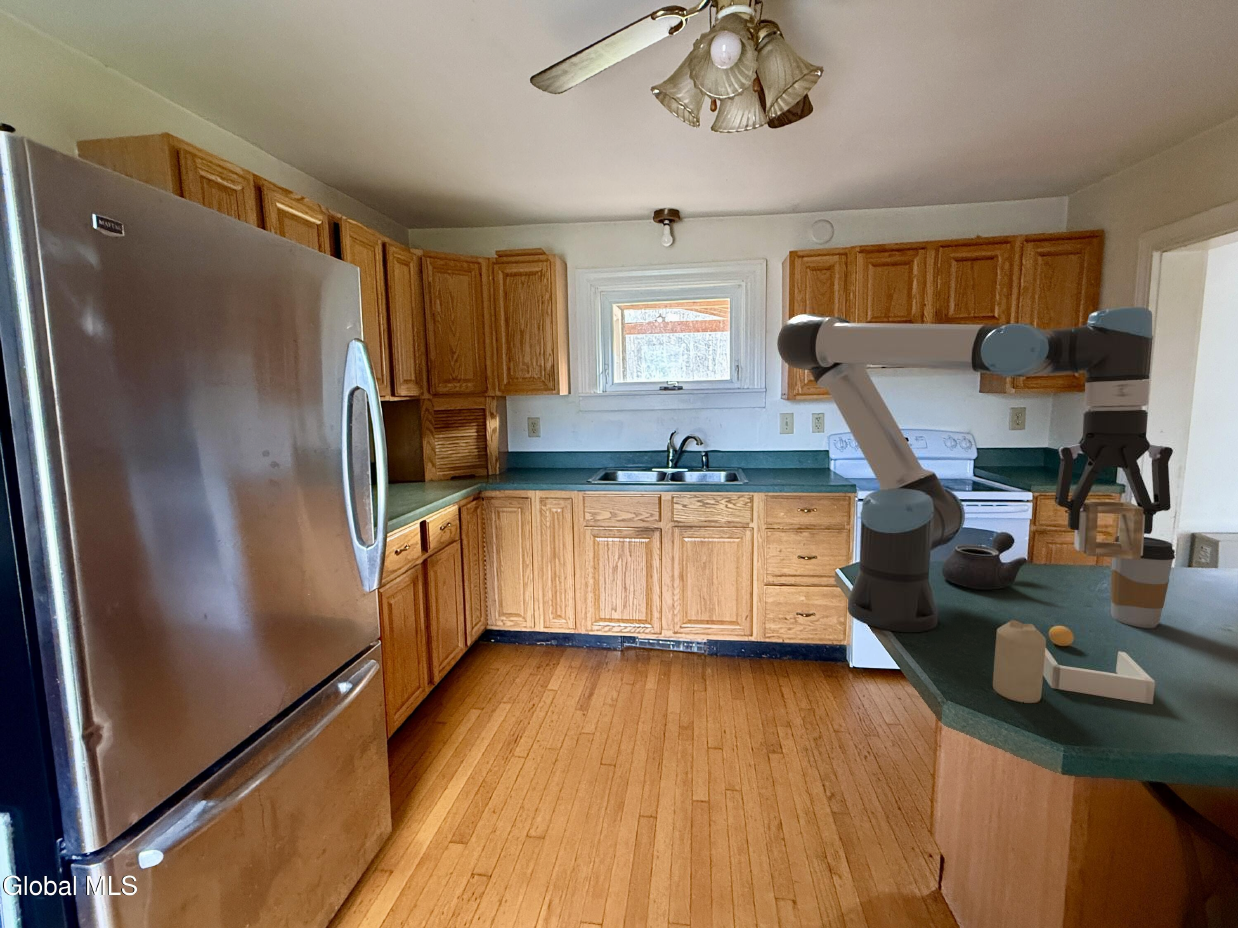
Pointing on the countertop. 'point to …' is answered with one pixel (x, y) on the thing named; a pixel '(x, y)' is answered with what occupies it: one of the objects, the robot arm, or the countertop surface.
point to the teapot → (983, 565)
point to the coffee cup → (1141, 584)
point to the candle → (1019, 662)
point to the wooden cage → (1127, 531)
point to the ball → (1061, 635)
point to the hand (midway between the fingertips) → (1107, 551)
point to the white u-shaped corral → (1102, 680)
